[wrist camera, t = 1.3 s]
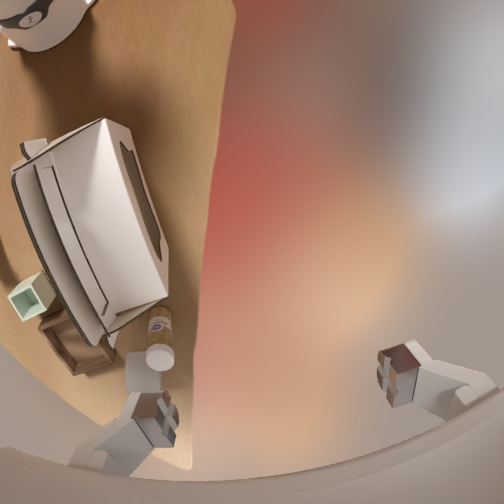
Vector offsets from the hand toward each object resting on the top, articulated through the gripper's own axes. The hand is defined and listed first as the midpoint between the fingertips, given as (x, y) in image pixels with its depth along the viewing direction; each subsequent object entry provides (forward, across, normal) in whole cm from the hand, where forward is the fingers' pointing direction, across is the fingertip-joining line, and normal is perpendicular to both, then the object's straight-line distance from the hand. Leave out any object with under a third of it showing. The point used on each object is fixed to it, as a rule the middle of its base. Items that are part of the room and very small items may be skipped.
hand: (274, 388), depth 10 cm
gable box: (+37, +22, -8) cm, 44 cm away
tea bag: (+40, +28, +24) cm, 54 cm away
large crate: (+36, +39, +15) cm, 55 cm away
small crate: (+33, +43, +3) cm, 54 cm away
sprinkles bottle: (+40, +21, +15) cm, 47 cm away
